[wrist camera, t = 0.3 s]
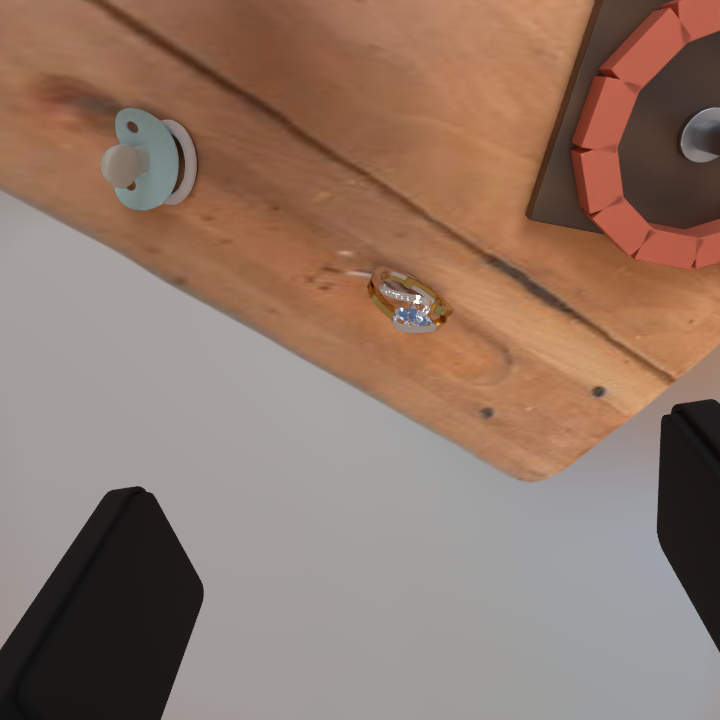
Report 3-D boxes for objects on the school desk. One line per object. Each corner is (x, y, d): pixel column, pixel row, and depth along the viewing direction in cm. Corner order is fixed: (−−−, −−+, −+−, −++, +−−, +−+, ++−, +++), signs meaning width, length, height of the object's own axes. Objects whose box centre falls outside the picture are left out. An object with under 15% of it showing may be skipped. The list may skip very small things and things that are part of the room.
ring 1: (454, 283, 45) (465, 323, 38) (433, 312, 47) (440, 356, 40) (383, 243, 44) (381, 277, 37) (364, 275, 45) (359, 313, 38)
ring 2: (908, 12, 33) (942, 8, 31) (756, 275, 42) (775, 286, 40) (636, -47, 33) (653, -54, 31) (539, 233, 41) (546, 242, 39)
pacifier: (203, 121, 40) (123, 99, 40) (177, 131, 35) (83, 106, 34) (194, 215, 44) (120, 196, 43) (169, 237, 38) (84, 216, 38)
